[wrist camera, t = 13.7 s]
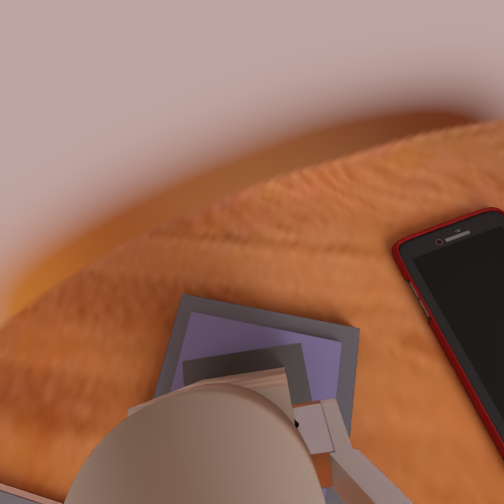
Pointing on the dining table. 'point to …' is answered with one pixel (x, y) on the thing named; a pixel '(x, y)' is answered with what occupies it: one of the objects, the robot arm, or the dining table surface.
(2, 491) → the marked square
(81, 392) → the dining table surface
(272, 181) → the dining table surface
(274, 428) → the stamp
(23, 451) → the dining table surface
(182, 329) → the ink pad
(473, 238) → the cell phone
